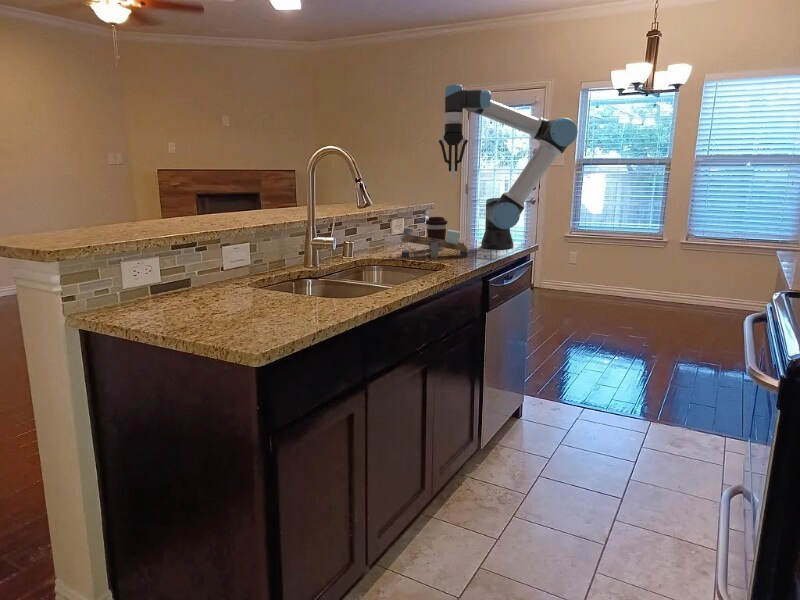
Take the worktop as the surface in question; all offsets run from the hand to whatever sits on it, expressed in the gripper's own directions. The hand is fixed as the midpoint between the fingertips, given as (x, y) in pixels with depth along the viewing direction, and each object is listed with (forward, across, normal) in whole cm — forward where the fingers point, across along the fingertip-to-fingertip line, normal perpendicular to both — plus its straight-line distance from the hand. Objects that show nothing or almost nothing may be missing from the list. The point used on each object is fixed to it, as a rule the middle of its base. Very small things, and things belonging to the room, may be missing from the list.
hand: (452, 179), depth 247 cm
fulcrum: (+32, +8, +12) cm, 35 cm away
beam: (+27, +8, +12) cm, 31 cm away
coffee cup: (+33, +7, -8) cm, 34 cm away
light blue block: (+28, +1, +12) cm, 30 cm away
